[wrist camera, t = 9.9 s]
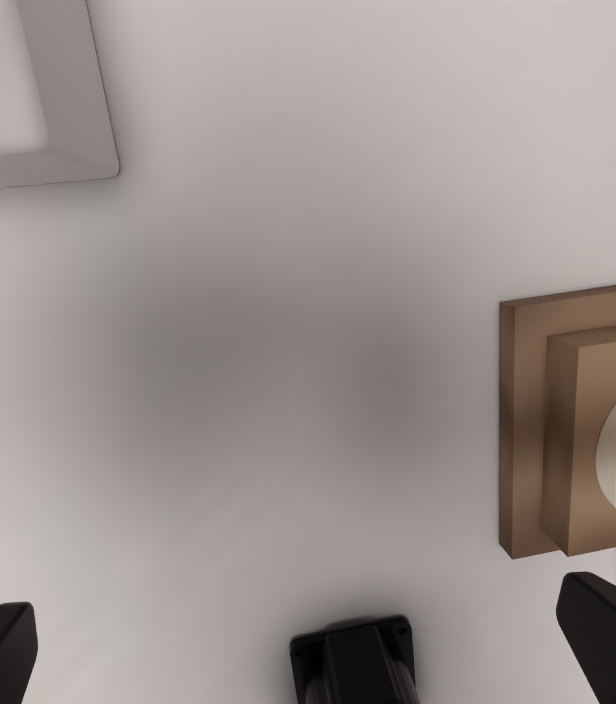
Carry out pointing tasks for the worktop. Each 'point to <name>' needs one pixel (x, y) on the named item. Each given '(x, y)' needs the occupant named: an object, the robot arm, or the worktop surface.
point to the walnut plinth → (558, 423)
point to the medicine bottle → (51, 96)
